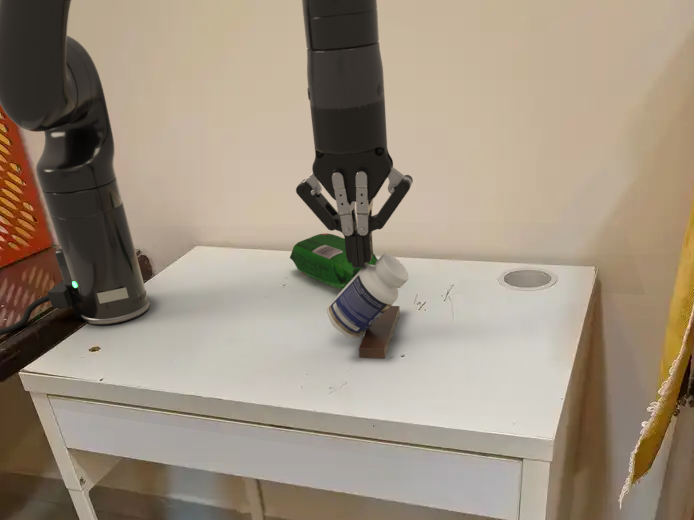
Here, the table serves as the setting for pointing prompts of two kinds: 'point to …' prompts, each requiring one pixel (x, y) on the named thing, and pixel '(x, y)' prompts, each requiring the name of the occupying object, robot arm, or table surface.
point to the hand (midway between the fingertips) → (360, 265)
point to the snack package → (325, 260)
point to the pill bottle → (367, 296)
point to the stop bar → (379, 334)
